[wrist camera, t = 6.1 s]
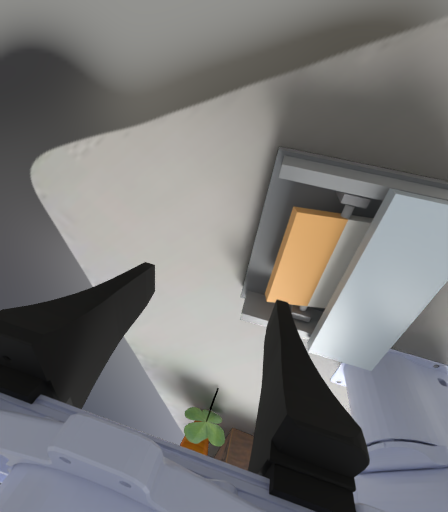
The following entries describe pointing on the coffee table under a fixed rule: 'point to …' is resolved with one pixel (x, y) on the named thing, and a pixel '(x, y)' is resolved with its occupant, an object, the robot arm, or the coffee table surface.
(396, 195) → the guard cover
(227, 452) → the tissue box cover
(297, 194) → the box
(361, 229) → the rocker
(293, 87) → the coffee table surface
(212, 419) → the seedling
